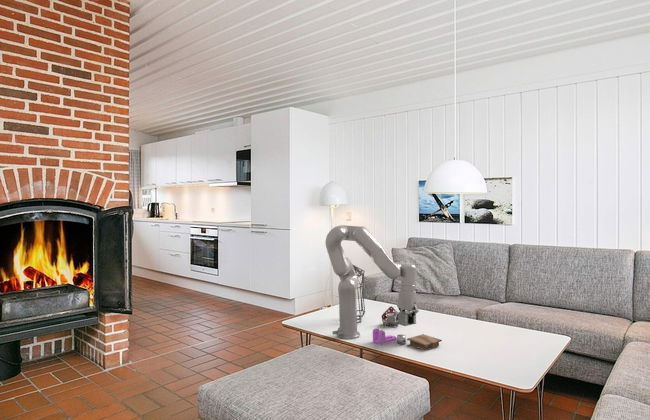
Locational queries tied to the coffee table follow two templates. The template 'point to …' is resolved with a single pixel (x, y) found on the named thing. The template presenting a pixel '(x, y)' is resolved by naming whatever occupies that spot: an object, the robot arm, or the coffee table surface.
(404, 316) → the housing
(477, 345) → the coffee table surface
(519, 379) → the coffee table surface
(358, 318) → the geometric lantern
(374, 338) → the bracket
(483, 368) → the coffee table surface
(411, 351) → the coffee table surface
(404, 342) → the knob
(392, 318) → the brake caliper
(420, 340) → the stand
